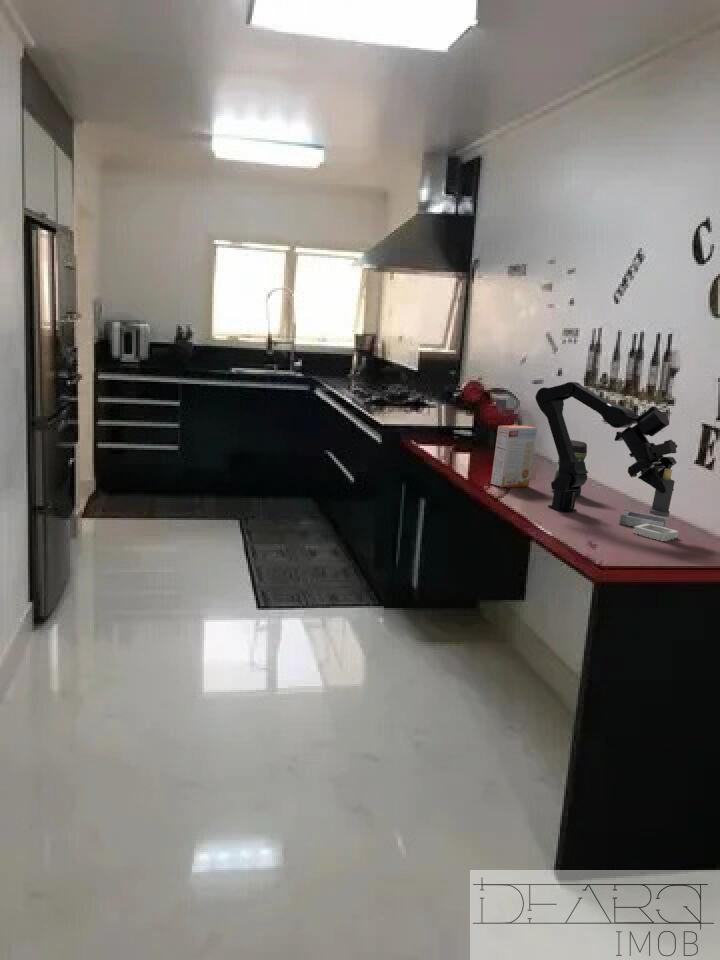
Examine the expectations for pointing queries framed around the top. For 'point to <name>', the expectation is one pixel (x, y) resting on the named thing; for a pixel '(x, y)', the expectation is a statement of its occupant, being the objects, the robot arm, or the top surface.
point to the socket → (655, 532)
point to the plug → (663, 496)
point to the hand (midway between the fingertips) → (668, 492)
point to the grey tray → (640, 519)
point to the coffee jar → (580, 454)
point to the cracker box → (513, 456)
